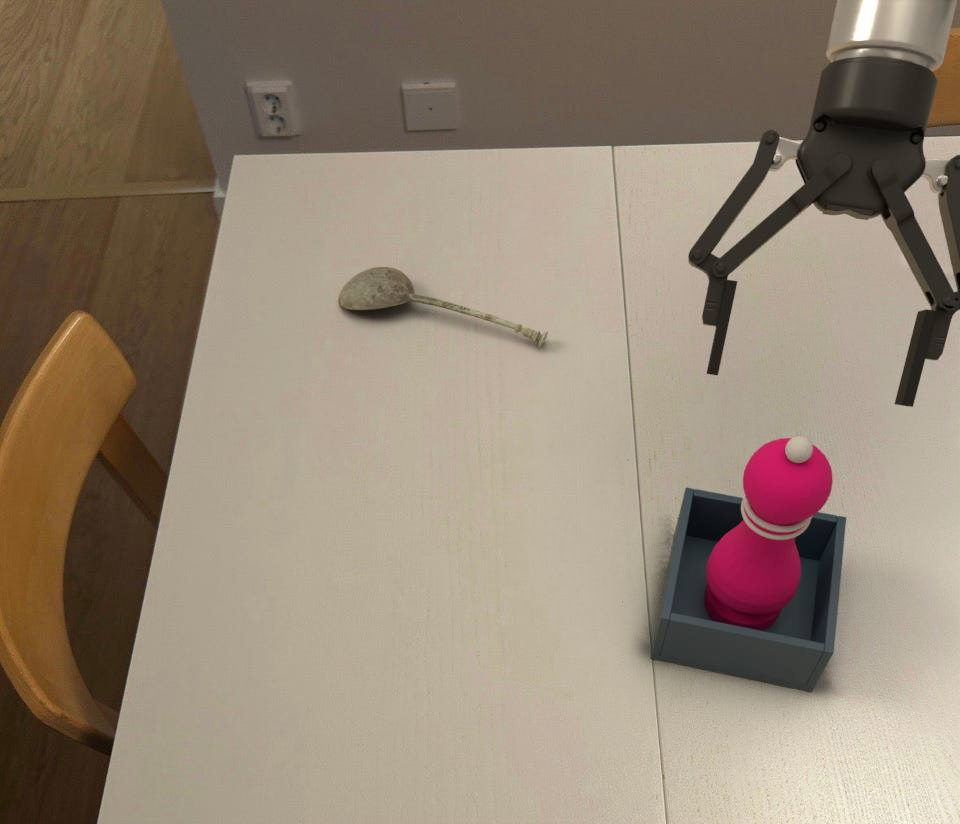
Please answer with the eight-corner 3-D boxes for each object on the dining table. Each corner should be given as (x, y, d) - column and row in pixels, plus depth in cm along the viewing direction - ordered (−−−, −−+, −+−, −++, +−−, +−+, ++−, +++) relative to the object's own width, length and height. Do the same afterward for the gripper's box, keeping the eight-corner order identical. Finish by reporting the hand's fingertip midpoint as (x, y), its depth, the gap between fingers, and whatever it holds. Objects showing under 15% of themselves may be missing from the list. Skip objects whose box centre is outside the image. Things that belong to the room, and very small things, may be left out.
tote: (825, 561, 90) (846, 516, 85) (811, 692, 84) (833, 653, 78) (674, 532, 92) (685, 486, 87) (650, 658, 86) (660, 617, 80)
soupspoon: (358, 273, 110) (330, 317, 107) (352, 247, 107) (323, 292, 104) (557, 324, 105) (533, 371, 102) (557, 298, 102) (532, 346, 99)
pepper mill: (787, 572, 89) (857, 407, 72) (784, 646, 85) (858, 490, 68) (700, 560, 89) (749, 394, 72) (694, 633, 86) (744, 476, 69)
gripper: (1056, 106, 73) (972, 416, 78) (693, 61, 76) (636, 362, 82) (1098, 76, 66) (1001, 421, 71) (695, 29, 69) (632, 361, 75)
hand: (806, 390), depth 76 cm, fingers open, 13 cm apart
